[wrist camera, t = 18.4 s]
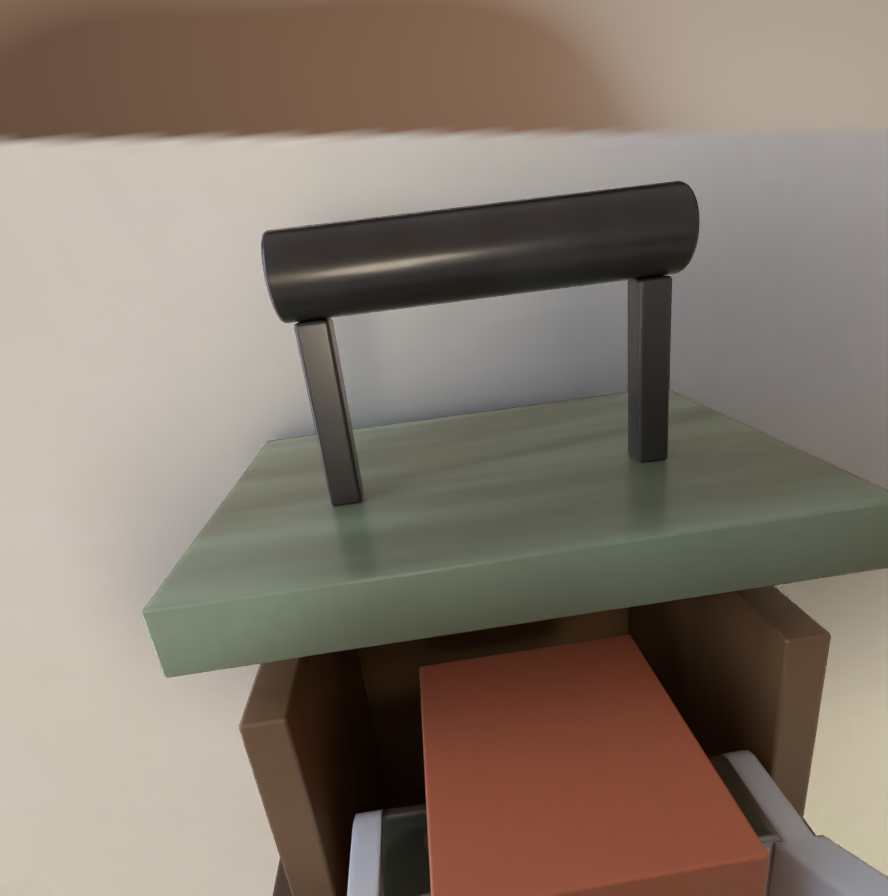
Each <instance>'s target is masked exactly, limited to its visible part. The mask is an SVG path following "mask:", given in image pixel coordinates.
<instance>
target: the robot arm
mask: <svg viewBox="0 0 888 896" xmlns="http://www.w3.org/2000/svg"><path fill="white" fill-rule="evenodd" d="M707 757H708V759H709V760H710V762H711V763H712V765H713V767H714V768H715V770H716V771H717V773H718V774H719V776H720V778H721V779H722V781H723V782H724V784H725V786H726V787H727V789H728V790H729V792H730V794H731V795H732V797H733V798H734V800H735V801H736V803H737V805H738V806H739V808H740V809H741V811H742V813H743V814H744V816H745V817H746V819H747V820H748V822H749V824H750V825H751V827H752V828H753V830H754V832H755V833H756V835H757V836H758V838H759V839H760V841H761V843H762V844H763V846H764V847H765V849H766V851H767V852H768V854H769V857H770V858H769V867H768V875H767V883H766V891H765V896H888V877H887V876H885V875H884V874H882V873H881V872H879V871H878V870H876V869H875V868H873V867H872V866H870V865H868V864H867V863H865V862H864V861H862V860H861V859H859V858H858V857H856V856H855V855H853V854H851V853H850V852H848V851H847V850H845V849H844V848H842V847H841V846H839V845H838V844H836V843H834V842H833V841H831V840H830V839H828V838H827V837H825V836H824V835H819V836H814V835H813V833H812V832H811V831H810V829H809V828H808V827H807V825H806V824H805V823H804V821H803V820H802V818H801V817H800V816H799V814H798V813H797V812H796V810H795V809H794V808H793V806H792V805H791V804H790V802H789V801H788V800H787V798H786V797H785V795H784V794H783V793H782V791H781V790H780V789H779V787H778V786H777V785H776V783H775V782H774V781H773V779H772V778H771V777H770V775H769V774H768V772H767V771H766V770H765V768H764V767H763V766H762V764H761V763H760V762H759V760H758V759H757V758H756V756H755V755H754V754H753V753H751V752H750V751H749V750H741V751H735V752H730V753H724V754H713V755H708V756H707ZM347 896H431V884H430V865H429V846H428V828H427V809H426V804H420V805H413V806H406V807H399V808H392V809H385V810H377V811H371V812H365V813H359V814H356V815H355V819H354V822H353V829H352V841H351V853H350V865H349V877H348V890H347Z"/></svg>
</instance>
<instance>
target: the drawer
mask: <svg viewBox="0 0 888 896" xmlns="http://www.w3.org/2000/svg"><path fill="white" fill-rule="evenodd" d="M698 234H699V210H698V204H697V200H696V197H695V195H694V192H693V191H692V189H691V188H690V186H689V185H687V184H686V183H684V182H681V181H674V182H665V183H657V184H649V185H640V186H632V187H624V188H616V189H607V190H599V191H591V192H582V193H574V194H566V195H557V196H549V197H541V198H532V199H524V200H516V201H507V202H499V203H491V204H483V205H474V206H466V207H458V208H449V209H441V210H433V211H424V212H416V213H408V214H399V215H391V216H383V217H374V218H366V219H358V220H349V221H341V222H333V223H325V224H316V225H308V226H300V227H291V228H283V229H275V230H267V231H266V232H264V233H263V236H262V243H261V254H262V264H263V270H264V276H265V281H266V285H267V289H268V292H269V296H270V299H271V302H272V304H273V307H274V309H275V311H276V313H277V315H278V317H279V318H280V320H281V321H282V322H285V323H292V322H298V323H297V324H295V327H294V328H295V333H296V338H297V343H298V348H299V353H300V357H301V362H302V367H303V372H304V377H305V382H306V386H307V391H308V396H309V401H310V406H311V411H312V415H313V420H314V425H315V430H316V435H309V436H301V437H294V438H287V439H279V440H272V441H268V442H267V443H266V444H265V445H264V447H263V448H262V449H261V451H260V452H259V453H258V455H257V456H256V458H255V459H254V460H253V462H252V463H251V464H250V466H249V467H248V468H247V470H246V471H245V472H244V474H243V475H242V476H241V478H240V479H239V481H238V482H237V483H236V485H235V486H234V487H233V489H232V490H231V491H230V493H229V494H228V495H227V497H226V498H225V500H224V501H223V502H222V504H221V505H220V506H219V508H218V509H217V510H216V512H215V513H214V514H213V516H212V517H211V518H210V520H209V521H208V523H207V524H206V525H205V527H204V528H203V529H202V531H201V532H200V533H199V535H198V536H197V537H196V539H195V540H194V541H193V543H192V544H191V546H190V547H189V548H188V550H187V551H186V552H185V554H184V555H183V556H182V558H181V559H180V560H179V562H178V563H177V564H176V566H175V567H174V569H173V570H172V571H171V573H170V574H169V575H168V577H167V578H166V579H165V581H164V582H163V583H162V585H161V586H160V588H159V589H158V590H157V592H156V593H155V594H154V596H153V597H152V598H151V600H150V601H149V602H148V604H147V605H146V606H145V608H144V609H143V611H142V616H143V619H144V622H145V624H146V627H147V630H148V633H149V635H150V638H151V641H152V644H153V646H154V649H155V652H156V654H157V657H158V660H159V663H160V665H161V668H162V671H163V674H164V676H165V677H167V678H168V677H174V676H181V675H188V674H194V673H201V672H207V671H214V670H220V669H227V668H234V667H240V666H247V665H253V664H260V663H261V664H260V666H259V669H258V672H257V675H256V678H255V681H254V684H253V687H252V690H251V693H250V696H249V698H248V701H247V704H246V707H245V710H244V713H243V716H242V719H241V722H240V725H239V730H240V734H241V737H242V740H243V743H244V746H245V749H246V752H247V755H248V758H249V762H250V765H251V768H252V771H253V774H254V777H255V780H256V783H257V787H258V790H259V793H260V796H261V799H262V802H263V805H264V808H265V811H266V815H267V818H268V821H269V824H270V827H271V830H272V833H273V836H274V840H275V843H276V846H277V849H278V852H279V855H280V858H281V861H282V864H283V868H284V871H285V874H286V877H287V880H288V883H289V886H290V889H291V893H292V896H347V890H348V877H349V865H350V853H351V841H352V829H353V822H354V819H355V815H356V814H359V813H365V812H371V811H377V810H385V809H392V808H399V807H406V806H413V805H420V804H426V790H425V771H424V752H423V733H422V714H421V695H420V677H419V669H420V667H422V666H428V665H435V664H441V663H448V662H454V661H461V660H467V659H473V658H480V657H486V656H493V655H499V654H505V653H512V652H518V651H525V650H531V649H538V648H544V647H550V646H557V645H563V644H570V643H576V642H582V641H589V640H595V639H602V638H608V637H615V636H621V635H627V634H629V635H631V637H632V638H633V640H634V641H635V643H636V645H637V646H638V648H639V649H640V651H641V653H642V654H643V656H644V657H645V659H646V660H647V662H648V664H649V665H650V667H651V668H652V670H653V672H654V673H655V675H656V676H657V678H658V679H659V681H660V683H661V684H662V686H663V687H664V689H665V691H666V692H667V694H668V695H669V697H670V698H671V700H672V702H673V703H674V705H675V706H676V708H677V710H678V711H679V713H680V714H681V716H682V717H683V719H684V721H685V722H686V724H687V725H688V727H689V729H690V730H691V732H692V733H693V735H694V736H695V738H696V740H697V741H698V743H699V744H700V746H701V748H702V749H703V751H704V752H705V754H706V755H707V756H708V755H713V754H724V753H730V752H735V751H741V750H749V751H750V752H751V753H753V754H754V755H755V756H756V758H757V759H758V760H759V762H760V763H761V764H762V766H763V767H764V768H765V770H766V771H767V772H768V774H769V775H770V777H771V778H772V779H773V781H774V782H775V783H776V785H777V786H778V787H779V789H780V790H781V791H782V793H783V794H784V795H785V797H786V798H787V800H788V801H789V802H790V804H791V805H792V806H793V808H794V809H795V810H796V812H797V813H798V814H799V816H800V817H801V818H802V820H803V815H804V809H805V802H806V795H807V789H808V782H809V776H810V769H811V763H812V756H813V750H814V743H815V737H816V730H817V724H818V717H819V711H820V704H821V698H822V691H823V684H824V678H825V671H826V665H827V658H828V652H829V645H830V639H831V636H830V634H829V632H827V631H826V630H825V629H824V628H823V627H822V626H820V625H819V624H818V623H817V622H816V621H815V620H813V619H812V618H811V617H810V616H809V615H808V614H806V613H805V612H804V611H803V610H802V609H800V608H799V607H798V606H797V605H796V604H795V603H793V602H792V601H791V600H790V599H789V598H788V597H786V596H785V595H784V594H783V593H782V592H781V591H779V590H778V589H777V588H776V587H775V586H774V585H779V584H786V583H792V582H799V581H805V580H812V579H819V578H825V577H832V576H838V575H845V574H851V573H858V572H865V571H871V570H878V569H884V568H888V490H886V489H884V488H882V487H879V486H877V485H875V484H873V483H871V482H869V481H866V480H864V479H862V478H860V477H858V476H855V475H853V474H851V473H849V472H847V471H845V470H842V469H840V468H838V467H836V466H834V465H832V464H829V463H827V462H825V461H823V460H821V459H818V458H816V457H814V456H812V455H810V454H808V453H805V452H803V451H801V450H799V449H797V448H795V447H792V446H790V445H788V444H786V443H784V442H781V441H779V440H777V439H775V438H773V437H771V436H768V435H766V434H764V433H762V432H760V431H758V430H755V429H753V428H751V427H749V426H747V425H744V424H742V423H740V422H738V421H736V420H734V419H731V418H729V417H727V416H725V415H723V414H721V413H718V412H716V411H714V410H712V409H710V408H707V407H705V406H703V405H701V404H699V403H697V402H694V401H692V400H690V399H688V398H686V397H684V396H681V395H679V394H677V393H675V392H673V391H670V390H669V382H670V342H671V303H672V278H671V277H670V276H664V275H669V274H676V273H679V272H680V271H682V270H683V269H684V268H686V266H687V265H688V264H689V262H690V261H691V259H692V257H693V254H694V252H695V248H696V245H697V240H698ZM622 280H629V281H628V392H625V393H618V394H611V395H603V396H596V397H589V398H581V399H574V400H566V401H559V402H552V403H544V404H537V405H530V406H522V407H515V408H508V409H500V410H493V411H485V412H478V413H471V414H463V415H456V416H449V417H441V418H434V419H427V420H419V421H412V422H405V423H397V424H390V425H382V426H375V427H368V428H360V429H353V430H352V424H351V419H350V413H349V408H348V402H347V397H346V391H345V386H344V380H343V375H342V369H341V364H340V358H339V353H338V347H337V342H336V337H335V331H334V326H333V321H332V319H331V318H332V317H339V316H347V315H355V314H363V313H371V312H379V311H387V310H394V309H402V308H410V307H418V306H426V305H434V304H442V303H449V302H457V301H465V300H473V299H481V298H489V297H497V296H504V295H512V294H520V293H528V292H536V291H544V290H552V289H559V288H567V287H575V286H583V285H591V284H599V283H607V282H614V281H622Z"/></svg>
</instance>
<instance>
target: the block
mask: <svg viewBox="0 0 888 896" xmlns="http://www.w3.org/2000/svg"><path fill="white" fill-rule="evenodd" d="M419 677H420V695H421V714H422V733H423V752H424V771H425V790H426V809H427V828H428V846H429V865H430V884H431V896H765V891H766V883H767V875H768V867H769V858H770V857H769V854H768V852H767V851H766V849H765V847H764V846H763V844H762V843H761V841H760V839H759V838H758V836H757V835H756V833H755V832H754V830H753V828H752V827H751V825H750V824H749V822H748V820H747V819H746V817H745V816H744V814H743V813H742V811H741V809H740V808H739V806H738V805H737V803H736V801H735V800H734V798H733V797H732V795H731V794H730V792H729V790H728V789H727V787H726V786H725V784H724V782H723V781H722V779H721V778H720V776H719V774H718V773H717V771H716V770H715V768H714V767H713V765H712V763H711V762H710V760H709V759H708V757H707V755H706V754H705V752H704V751H703V749H702V748H701V746H700V744H699V743H698V741H697V740H696V738H695V736H694V735H693V733H692V732H691V730H690V729H689V727H688V725H687V724H686V722H685V721H684V719H683V717H682V716H681V714H680V713H679V711H678V710H677V708H676V706H675V705H674V703H673V702H672V700H671V698H670V697H669V695H668V694H667V692H666V691H665V689H664V687H663V686H662V684H661V683H660V681H659V679H658V678H657V676H656V675H655V673H654V672H653V670H652V668H651V667H650V665H649V664H648V662H647V660H646V659H645V657H644V656H643V654H642V653H641V651H640V649H639V648H638V646H637V645H636V643H635V641H634V640H633V638H632V637H631V635H629V634H627V635H621V636H615V637H608V638H602V639H595V640H589V641H582V642H576V643H570V644H563V645H557V646H550V647H544V648H538V649H531V650H525V651H518V652H512V653H505V654H499V655H493V656H486V657H480V658H473V659H467V660H461V661H454V662H448V663H441V664H435V665H428V666H422V667H420V669H419Z"/></svg>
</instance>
